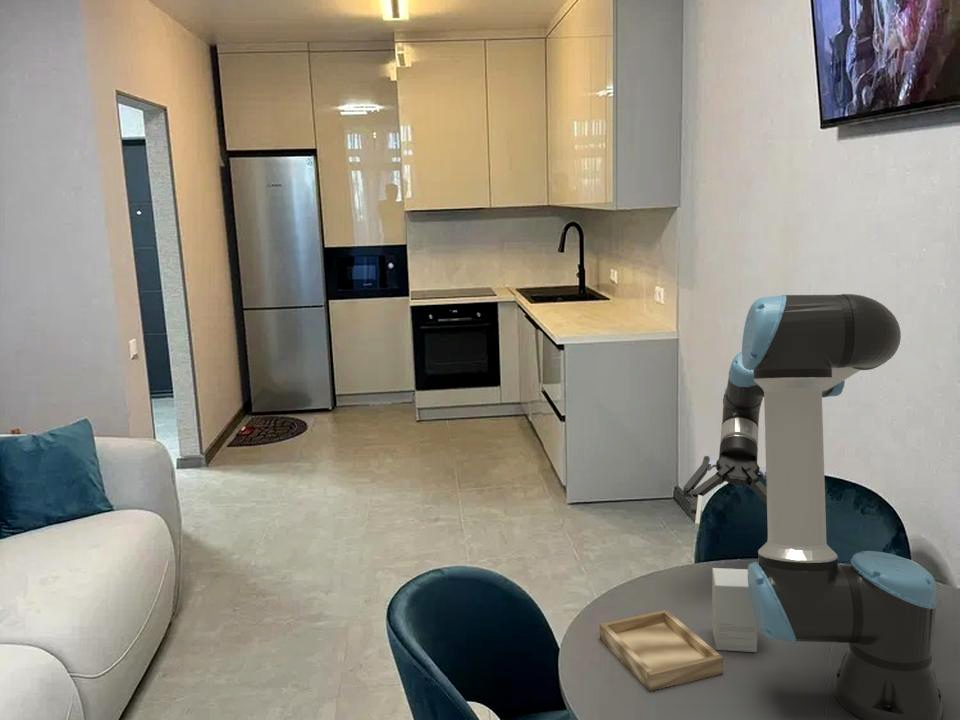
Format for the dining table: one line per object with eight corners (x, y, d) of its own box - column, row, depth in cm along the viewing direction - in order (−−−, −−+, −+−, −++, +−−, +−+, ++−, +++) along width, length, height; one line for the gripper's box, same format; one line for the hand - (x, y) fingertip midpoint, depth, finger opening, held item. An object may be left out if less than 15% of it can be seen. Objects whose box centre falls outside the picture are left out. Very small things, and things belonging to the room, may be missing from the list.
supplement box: (752, 632, 146) (753, 568, 144) (757, 653, 139) (759, 587, 137) (711, 629, 148) (711, 566, 145) (714, 650, 140) (715, 584, 138)
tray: (722, 673, 133) (723, 657, 133) (650, 691, 129) (650, 675, 128) (665, 623, 150) (665, 609, 150) (599, 638, 146) (599, 623, 145)
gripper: (799, 464, 164) (798, 554, 150) (676, 447, 170) (665, 532, 156) (805, 443, 158) (806, 534, 145) (679, 425, 165) (668, 511, 151)
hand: (733, 533), depth 151 cm, fingers open, 13 cm apart
